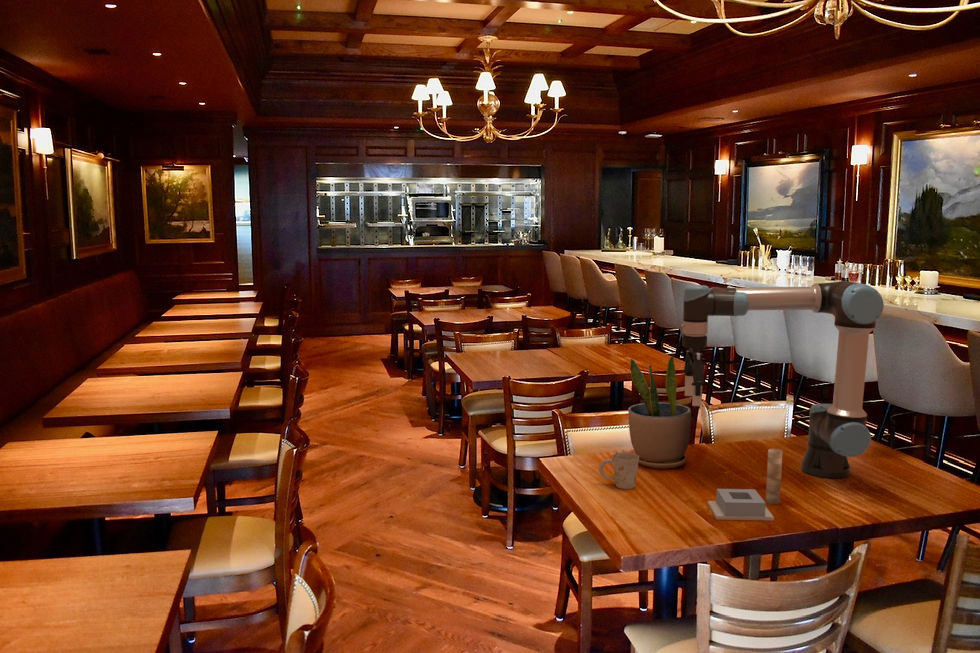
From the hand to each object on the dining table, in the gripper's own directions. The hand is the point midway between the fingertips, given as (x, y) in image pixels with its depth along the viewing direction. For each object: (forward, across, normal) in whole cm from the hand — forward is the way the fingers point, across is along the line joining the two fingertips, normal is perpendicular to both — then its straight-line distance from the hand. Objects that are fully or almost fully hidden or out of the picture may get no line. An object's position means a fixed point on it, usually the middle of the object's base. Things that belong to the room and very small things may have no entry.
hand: (692, 400), depth 252 cm
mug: (+27, +4, -23) cm, 36 cm away
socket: (+27, +25, +10) cm, 38 cm away
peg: (+27, +16, +22) cm, 38 cm away
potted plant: (+27, -21, -7) cm, 35 cm away
